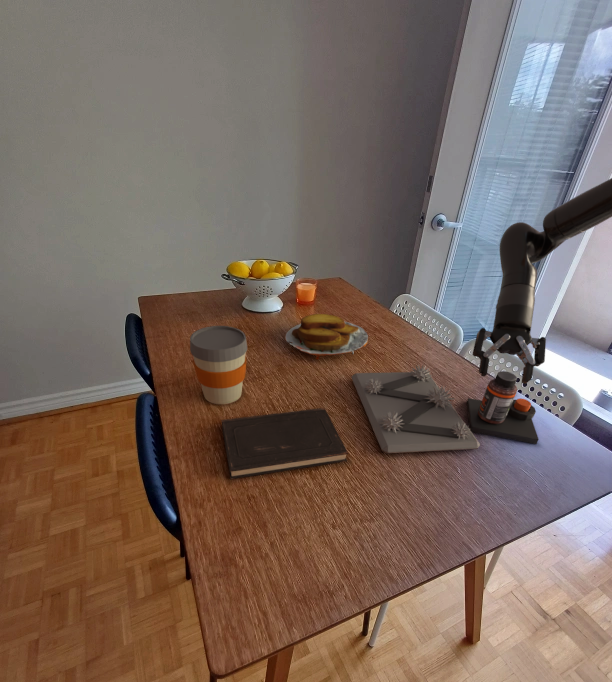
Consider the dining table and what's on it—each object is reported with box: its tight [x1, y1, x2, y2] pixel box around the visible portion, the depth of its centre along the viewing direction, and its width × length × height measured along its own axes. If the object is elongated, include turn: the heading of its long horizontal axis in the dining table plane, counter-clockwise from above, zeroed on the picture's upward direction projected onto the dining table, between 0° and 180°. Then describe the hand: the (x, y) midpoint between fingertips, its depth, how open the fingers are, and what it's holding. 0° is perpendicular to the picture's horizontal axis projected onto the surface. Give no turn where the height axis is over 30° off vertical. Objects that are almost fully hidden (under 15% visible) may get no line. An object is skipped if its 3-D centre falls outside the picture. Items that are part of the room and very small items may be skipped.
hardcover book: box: [220, 407, 349, 480], centre depth 82 cm, size 16×23×2 cm
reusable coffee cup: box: [189, 325, 248, 405], centre depth 92 cm, size 12×13×15 cm
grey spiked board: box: [350, 363, 481, 454], centre depth 92 cm, size 30×22×7 cm
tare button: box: [514, 398, 532, 412], centre depth 93 cm, size 3×3×2 cm
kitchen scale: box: [466, 397, 539, 445], centre depth 92 cm, size 14×13×3 cm
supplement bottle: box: [478, 370, 518, 424], centre depth 89 cm, size 6×6×11 cm
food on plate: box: [284, 313, 370, 361], centre depth 120 cm, size 25×25×7 cm
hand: (504, 379), depth 87 cm, fingers open, 8 cm apart
